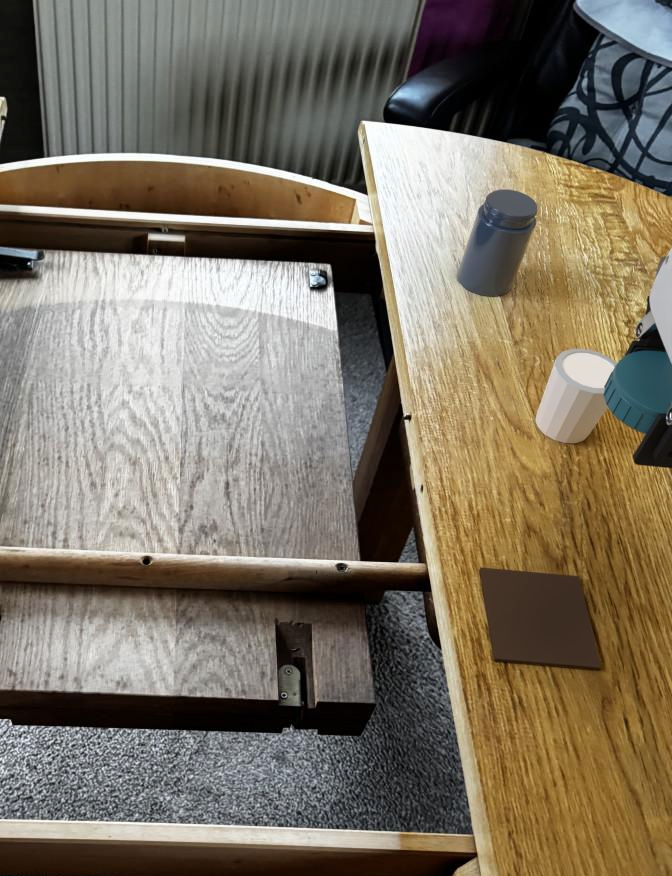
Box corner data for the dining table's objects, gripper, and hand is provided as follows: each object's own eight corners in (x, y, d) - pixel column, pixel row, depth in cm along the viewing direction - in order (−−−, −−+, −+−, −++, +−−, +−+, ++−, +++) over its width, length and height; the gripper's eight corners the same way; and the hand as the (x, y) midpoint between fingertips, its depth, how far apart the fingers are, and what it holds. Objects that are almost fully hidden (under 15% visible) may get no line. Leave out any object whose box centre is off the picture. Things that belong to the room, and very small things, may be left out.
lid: (691, 376, 66) (705, 353, 64) (718, 443, 61) (733, 421, 60) (593, 368, 65) (604, 345, 64) (614, 435, 61) (626, 413, 60)
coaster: (577, 578, 84) (579, 575, 83) (599, 670, 78) (601, 667, 78) (478, 570, 83) (480, 567, 83) (493, 661, 78) (495, 658, 77)
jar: (507, 266, 113) (536, 189, 105) (515, 299, 109) (546, 221, 101) (453, 261, 112) (479, 184, 105) (460, 293, 109) (486, 215, 101)
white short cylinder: (531, 442, 94) (558, 386, 88) (526, 398, 98) (552, 342, 92) (599, 452, 94) (630, 397, 88) (591, 407, 98) (621, 352, 92)
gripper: (926, 272, 46) (729, 522, 60) (808, 107, 56) (664, 354, 70) (776, 256, 45) (615, 511, 60) (686, 93, 56) (566, 344, 70)
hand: (642, 424), depth 65 cm, fingers closed on lid, 6 cm apart
